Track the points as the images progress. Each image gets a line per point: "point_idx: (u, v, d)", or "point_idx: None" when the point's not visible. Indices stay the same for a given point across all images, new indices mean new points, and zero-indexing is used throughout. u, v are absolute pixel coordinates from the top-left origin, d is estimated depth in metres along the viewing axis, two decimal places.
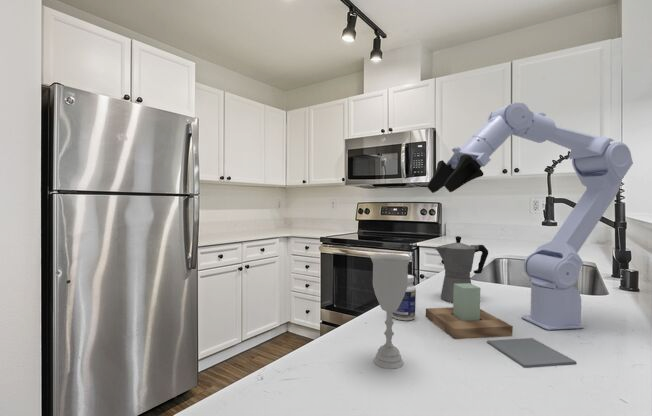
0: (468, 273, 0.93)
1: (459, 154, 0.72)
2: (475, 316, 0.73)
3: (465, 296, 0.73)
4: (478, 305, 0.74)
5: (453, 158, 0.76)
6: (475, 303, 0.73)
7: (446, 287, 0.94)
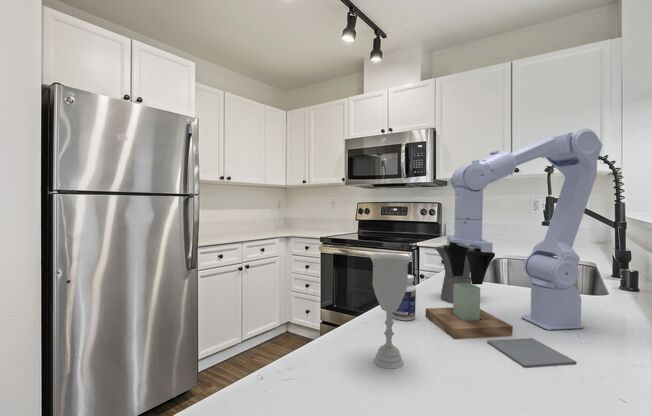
0: (467, 273, 0.93)
1: (459, 242, 0.74)
2: (475, 316, 0.73)
3: (465, 296, 0.73)
4: (478, 305, 0.74)
5: None
6: (475, 303, 0.73)
7: (446, 287, 0.94)
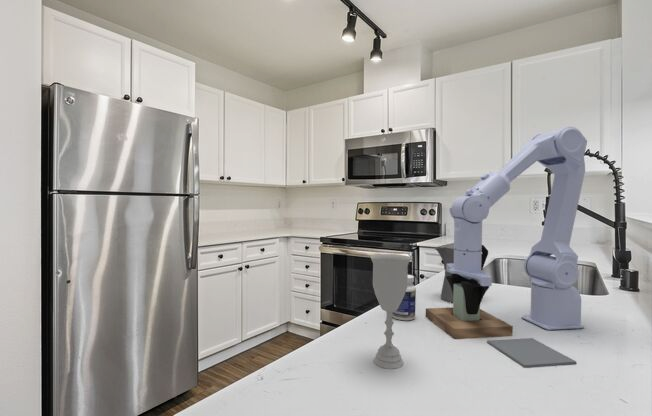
0: None
1: None
2: (475, 316, 0.73)
3: None
4: None
5: None
6: None
7: (446, 287, 0.94)
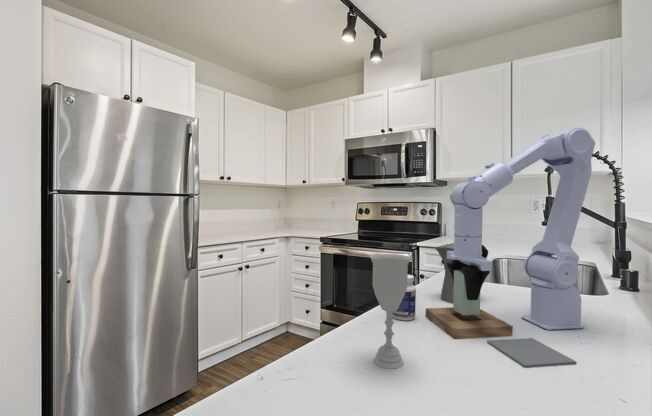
0: None
1: (459, 259, 0.74)
2: (476, 302, 0.73)
3: None
4: None
5: None
6: None
7: (446, 287, 0.94)
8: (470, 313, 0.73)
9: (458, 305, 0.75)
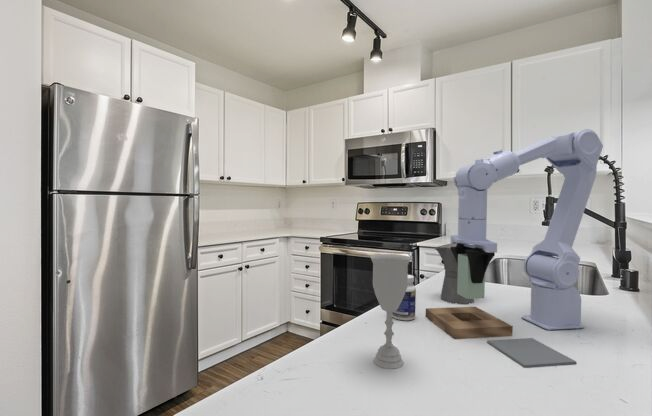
0: None
1: (463, 242, 0.73)
2: (480, 285, 0.72)
3: None
4: None
5: None
6: None
7: (446, 287, 0.94)
8: (474, 297, 0.72)
9: (462, 289, 0.74)
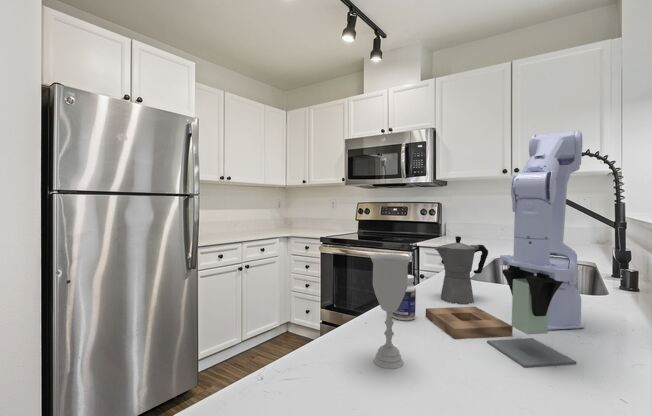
0: (467, 273, 0.93)
1: (522, 266, 0.61)
2: (543, 318, 0.60)
3: None
4: None
5: None
6: None
7: (446, 287, 0.94)
8: (536, 332, 0.60)
9: (520, 322, 0.62)
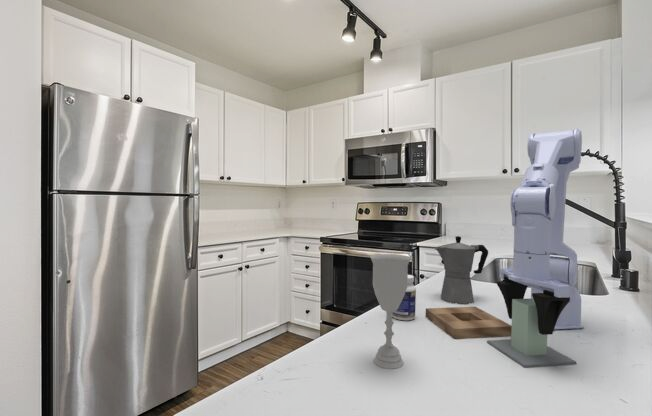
0: (468, 273, 0.93)
1: None
2: (542, 339, 0.60)
3: (530, 315, 0.60)
4: None
5: None
6: None
7: (446, 287, 0.94)
8: (535, 353, 0.60)
9: (519, 342, 0.62)
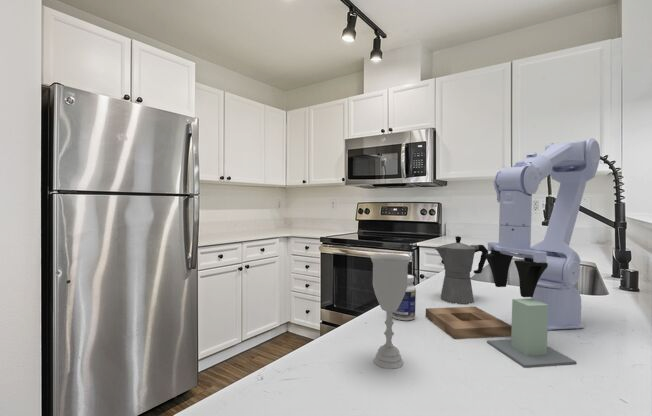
0: (467, 273, 0.93)
1: None
2: (542, 339, 0.60)
3: (530, 315, 0.60)
4: (545, 326, 0.60)
5: None
6: (542, 324, 0.60)
7: (446, 287, 0.94)
8: (535, 353, 0.60)
9: (519, 342, 0.62)
